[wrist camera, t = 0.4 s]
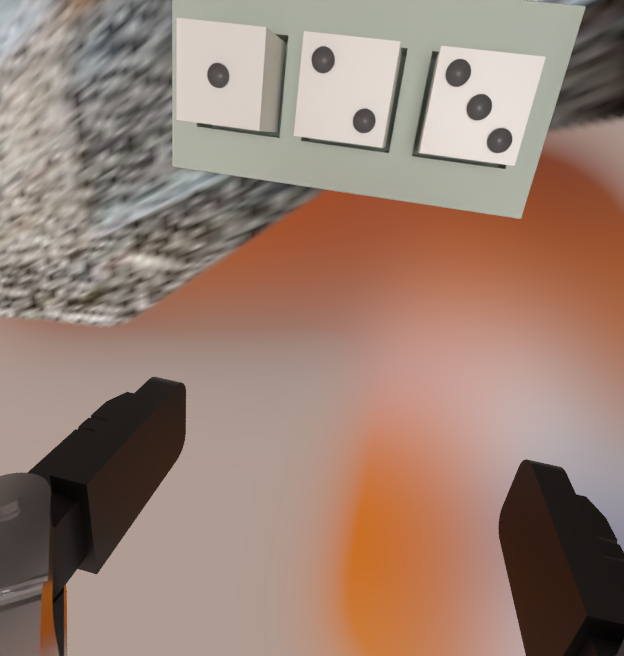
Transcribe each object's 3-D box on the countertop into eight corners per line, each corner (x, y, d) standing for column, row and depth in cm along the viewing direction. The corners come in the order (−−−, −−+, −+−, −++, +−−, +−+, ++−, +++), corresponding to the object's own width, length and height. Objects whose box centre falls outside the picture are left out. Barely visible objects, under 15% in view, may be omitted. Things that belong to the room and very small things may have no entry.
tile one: (206, 33, 28) (174, 16, 24) (285, 42, 27) (265, 26, 23) (204, 122, 30) (174, 119, 26) (277, 132, 29) (258, 130, 25)
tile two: (317, 46, 27) (302, 30, 23) (401, 55, 26) (400, 40, 22) (307, 136, 29) (292, 135, 25) (385, 147, 28) (382, 147, 24)
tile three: (436, 59, 26) (441, 44, 22) (525, 69, 25) (547, 56, 22) (417, 151, 28) (419, 153, 24) (500, 162, 27) (515, 165, 24)
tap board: (197, -14, 29) (172, -32, 26) (564, 22, 27) (585, 6, 23) (194, 164, 34) (172, 166, 31) (508, 210, 31) (520, 218, 28)
